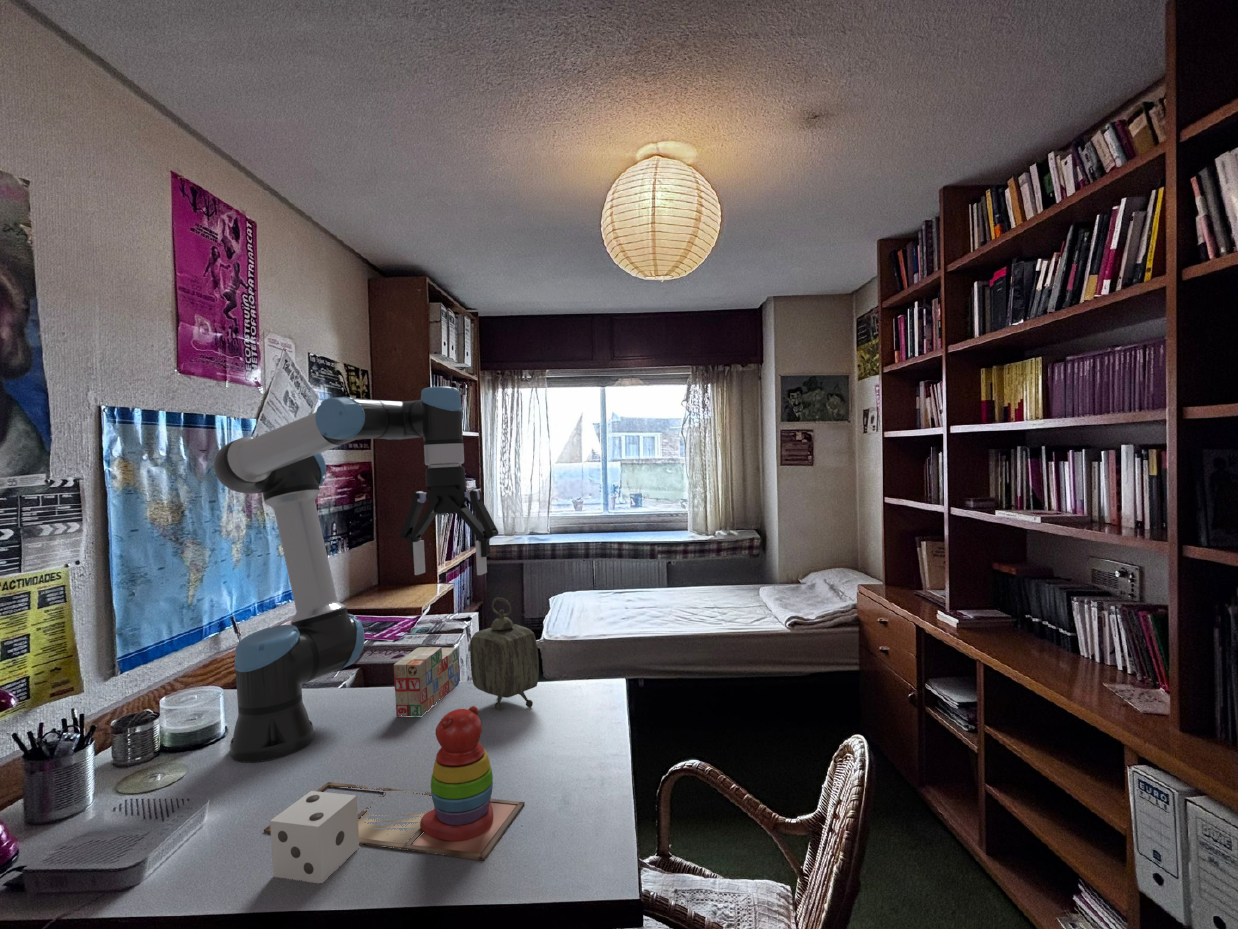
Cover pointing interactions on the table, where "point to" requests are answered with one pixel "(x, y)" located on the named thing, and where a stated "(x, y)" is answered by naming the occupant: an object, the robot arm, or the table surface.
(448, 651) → the stack of blocks
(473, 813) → the stacking bear
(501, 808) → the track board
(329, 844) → the die
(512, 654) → the tabletop clock
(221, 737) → the table surface
